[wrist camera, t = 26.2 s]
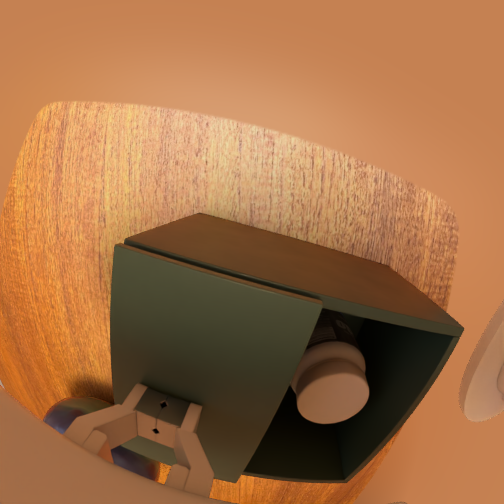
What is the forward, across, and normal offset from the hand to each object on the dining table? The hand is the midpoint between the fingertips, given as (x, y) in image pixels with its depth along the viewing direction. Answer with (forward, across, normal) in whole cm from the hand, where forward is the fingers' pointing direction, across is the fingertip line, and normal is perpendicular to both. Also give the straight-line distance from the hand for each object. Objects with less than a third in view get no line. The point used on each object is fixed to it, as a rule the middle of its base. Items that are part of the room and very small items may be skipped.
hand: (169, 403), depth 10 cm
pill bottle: (+11, -8, 0) cm, 14 cm away
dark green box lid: (0, -1, 0) cm, 1 cm away
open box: (+11, -4, 0) cm, 12 cm away
